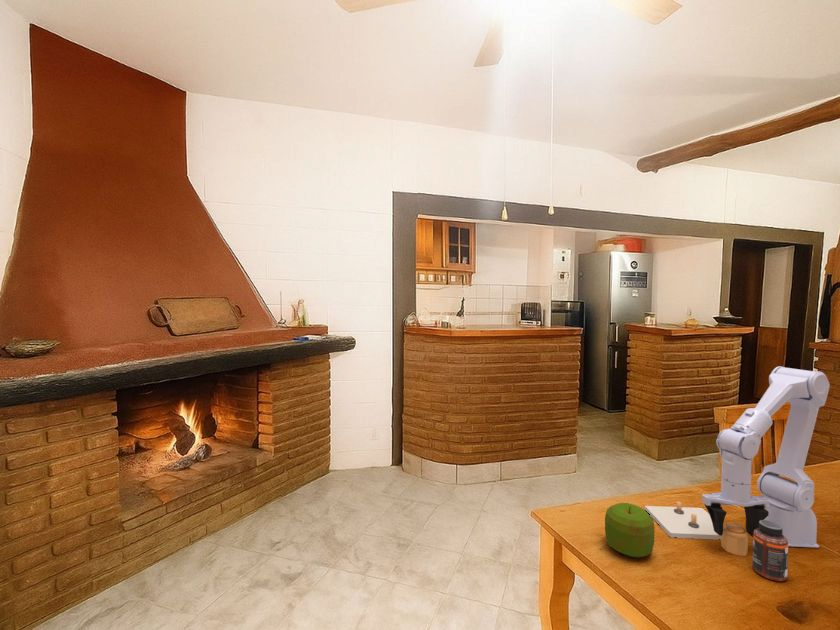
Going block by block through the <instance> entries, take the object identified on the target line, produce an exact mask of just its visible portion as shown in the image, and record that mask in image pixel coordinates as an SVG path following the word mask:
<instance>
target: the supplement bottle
mask: <svg viewBox="0 0 840 630" xmlns="http://www.w3.org/2000/svg"><path fill="white" fill-rule="evenodd" d="M782 533H783V532H782V526H781V525H779V524H777V523H775V522H772V521H768V520H765V519H764V520H760V521H759V528H757V529H755V530H754V532H753V537H752V568H753V570H754V571H755V572H756V573H757V574H759V575H760V576H762V577H763V578H765V579H768V580H771V581H775V582H785V581H786V580H788V574H789V573H788V568H789V567H788V566H789V562H788V561H789V559H788V558H789V546H788V540H787V538H786V537H785V536H784V535H783V534H782Z"/></svg>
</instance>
